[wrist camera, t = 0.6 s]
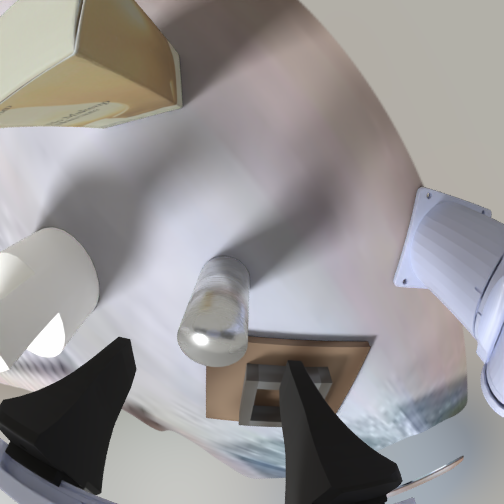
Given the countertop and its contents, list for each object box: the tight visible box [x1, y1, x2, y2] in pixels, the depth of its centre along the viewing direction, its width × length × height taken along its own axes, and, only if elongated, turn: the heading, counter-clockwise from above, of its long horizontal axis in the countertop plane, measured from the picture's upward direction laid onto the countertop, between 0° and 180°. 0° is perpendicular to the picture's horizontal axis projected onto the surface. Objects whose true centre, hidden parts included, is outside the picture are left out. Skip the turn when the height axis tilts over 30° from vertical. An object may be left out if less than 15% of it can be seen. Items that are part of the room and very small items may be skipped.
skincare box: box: [0, 0, 183, 128], centre depth 9 cm, size 6×4×12 cm
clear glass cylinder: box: [177, 256, 250, 367], centre depth 16 cm, size 4×4×7 cm
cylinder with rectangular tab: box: [0, 227, 99, 372], centre depth 14 cm, size 9×9×12 cm
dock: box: [206, 336, 370, 427], centre depth 23 cm, size 14×12×3 cm
